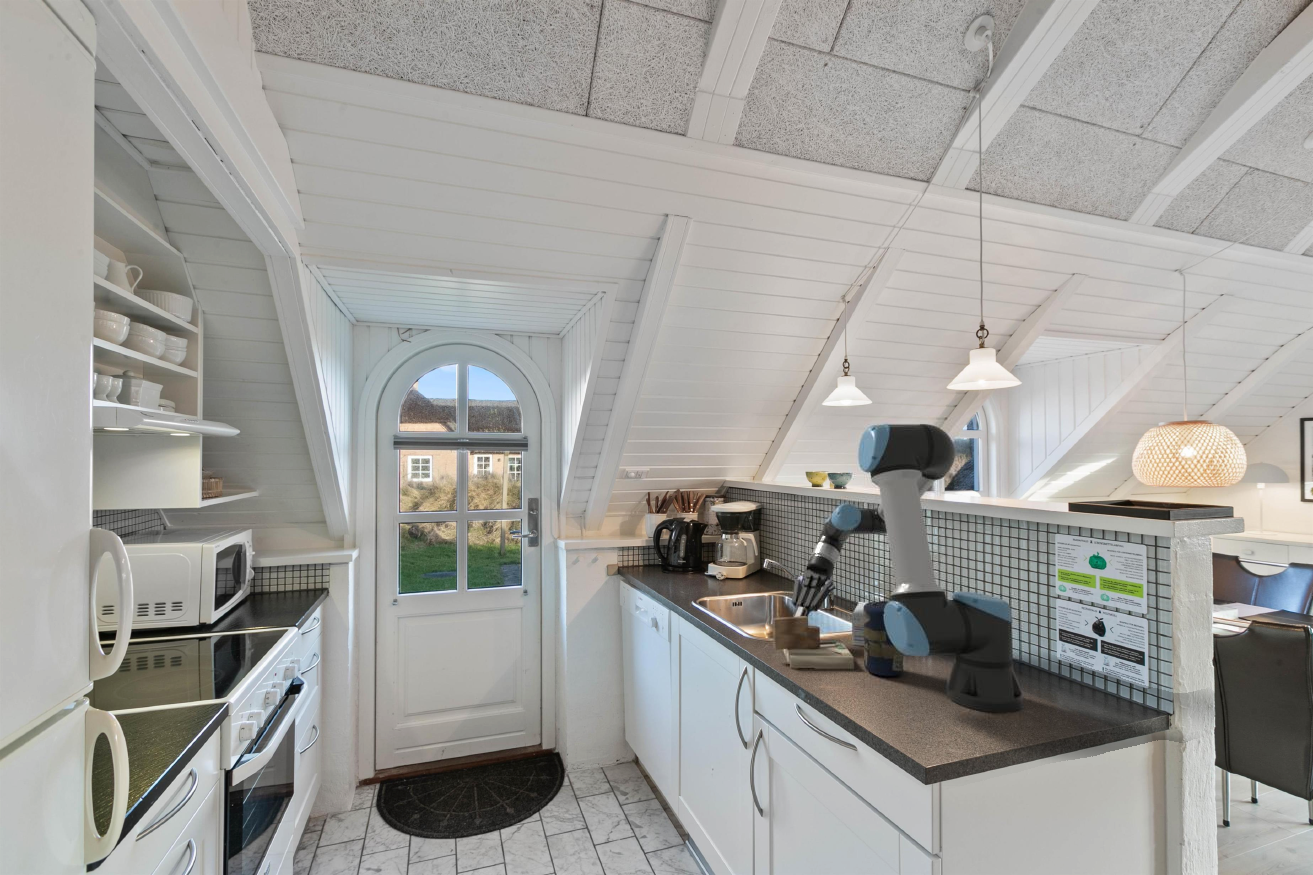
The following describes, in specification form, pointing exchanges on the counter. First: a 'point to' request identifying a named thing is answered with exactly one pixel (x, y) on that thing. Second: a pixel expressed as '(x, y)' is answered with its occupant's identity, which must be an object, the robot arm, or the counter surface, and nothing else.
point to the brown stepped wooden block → (796, 633)
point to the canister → (879, 643)
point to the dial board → (821, 656)
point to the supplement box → (858, 624)
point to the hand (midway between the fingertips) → (794, 628)
